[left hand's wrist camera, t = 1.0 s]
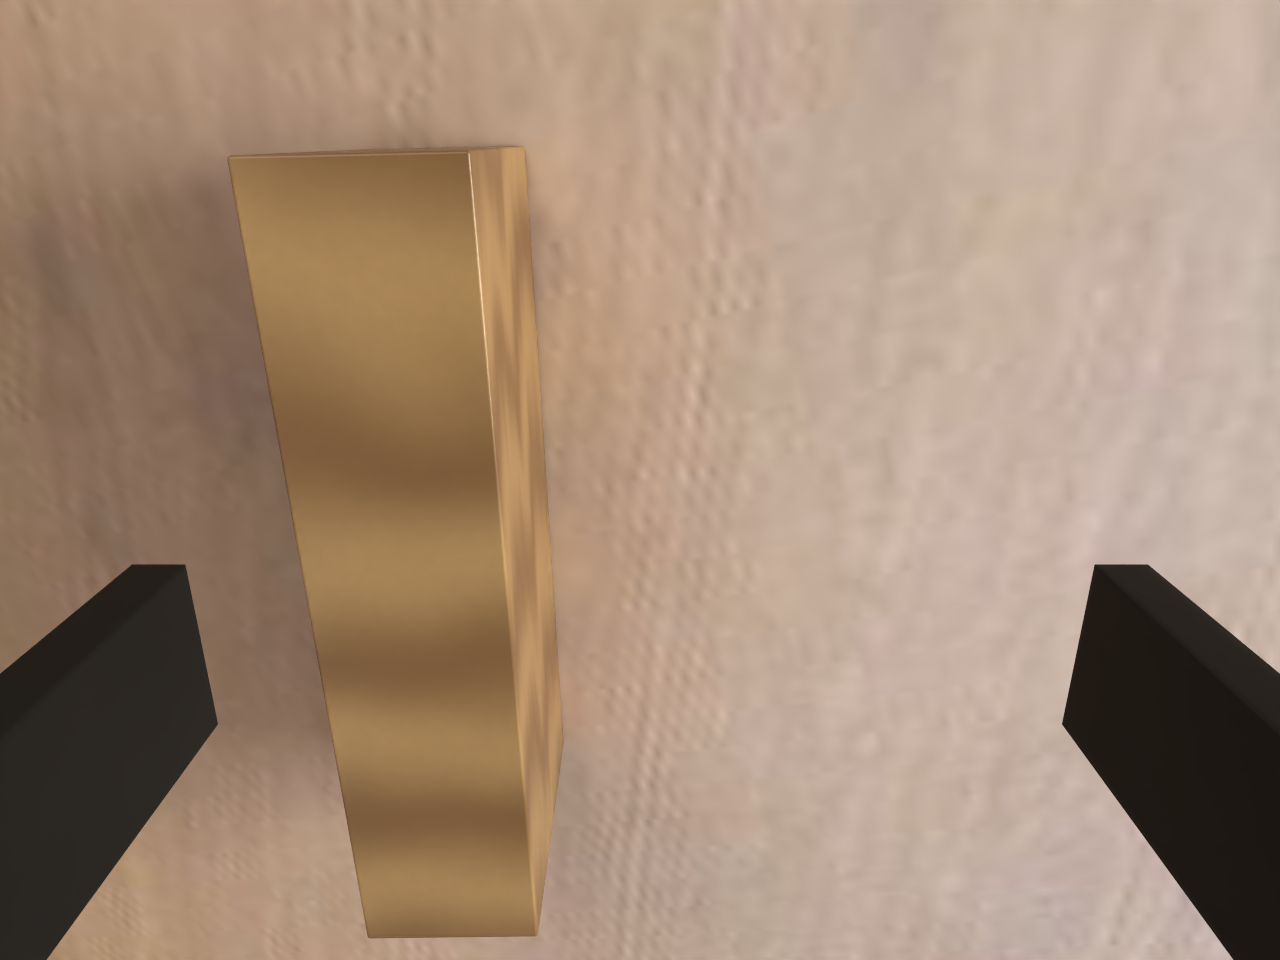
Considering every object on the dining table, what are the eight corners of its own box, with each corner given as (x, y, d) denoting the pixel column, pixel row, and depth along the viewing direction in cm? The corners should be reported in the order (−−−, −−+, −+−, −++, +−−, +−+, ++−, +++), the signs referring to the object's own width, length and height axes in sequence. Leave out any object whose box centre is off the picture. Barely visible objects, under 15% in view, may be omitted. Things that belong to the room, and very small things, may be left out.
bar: (356, 149, 26) (225, 156, 18) (524, 145, 26) (470, 149, 18) (434, 745, 34) (367, 939, 26) (563, 743, 34) (537, 937, 26)
